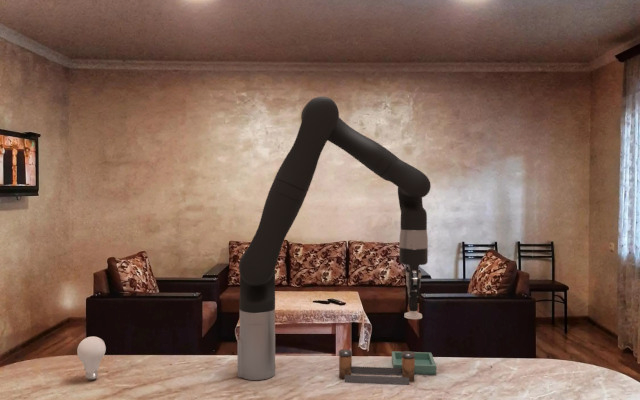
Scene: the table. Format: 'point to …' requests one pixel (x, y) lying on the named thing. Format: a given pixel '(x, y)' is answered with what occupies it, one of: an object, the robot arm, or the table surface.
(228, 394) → the table surface
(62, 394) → the table surface
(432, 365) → the tray
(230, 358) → the table surface
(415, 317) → the chess piece
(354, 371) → the rail
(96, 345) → the light bulb
